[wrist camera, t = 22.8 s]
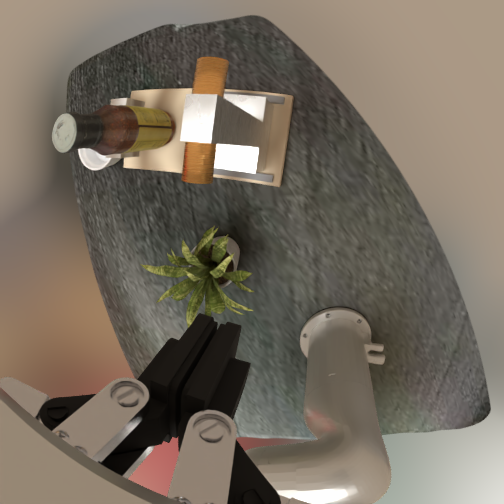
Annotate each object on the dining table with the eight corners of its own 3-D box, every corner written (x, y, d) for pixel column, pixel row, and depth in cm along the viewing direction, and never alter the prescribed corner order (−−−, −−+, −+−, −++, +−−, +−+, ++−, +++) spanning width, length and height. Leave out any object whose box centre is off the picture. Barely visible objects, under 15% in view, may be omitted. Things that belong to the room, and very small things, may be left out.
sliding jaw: (273, 106, 34) (224, 49, 13) (264, 170, 38) (205, 193, 17) (215, 101, 35) (114, 59, 14) (207, 162, 39) (100, 180, 18)
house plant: (288, 280, 45) (276, 344, 30) (215, 306, 49) (178, 366, 34) (249, 198, 42) (213, 225, 27) (176, 234, 46) (118, 273, 31)
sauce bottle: (143, 111, 38) (46, 101, 20) (178, 109, 37) (86, 89, 19) (141, 151, 40) (44, 163, 22) (176, 151, 39) (82, 159, 21)
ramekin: (118, 109, 41) (103, 107, 37) (137, 149, 42) (122, 150, 38) (87, 138, 43) (72, 139, 39) (105, 177, 45) (89, 180, 41)
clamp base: (293, 98, 35) (290, 87, 29) (280, 185, 40) (274, 191, 34) (138, 92, 39) (113, 86, 32) (130, 166, 44) (104, 170, 37)
